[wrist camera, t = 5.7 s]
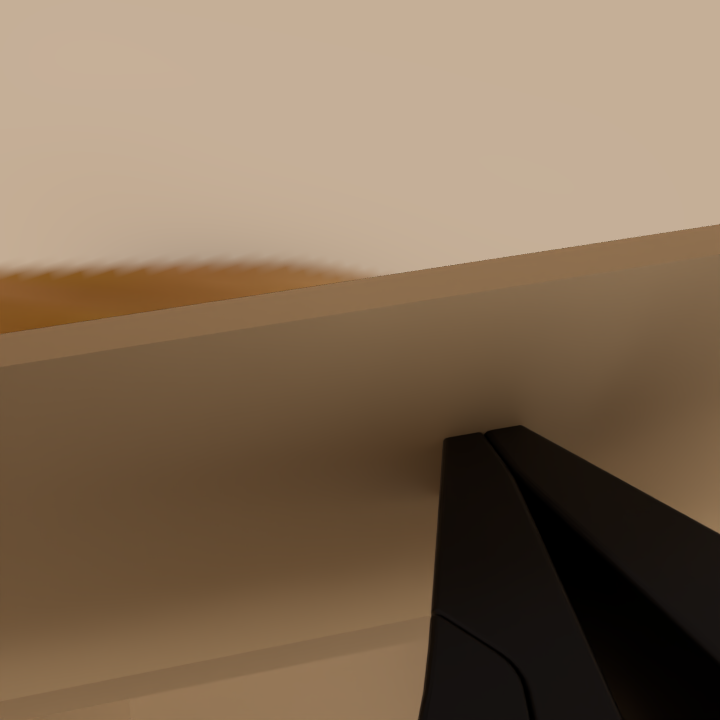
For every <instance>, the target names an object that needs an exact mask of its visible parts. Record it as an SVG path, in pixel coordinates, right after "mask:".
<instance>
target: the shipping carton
mask: <svg viewBox="0 0 720 720" xmlns="http://www.w3.org/2000/svg"><path fill="white" fill-rule="evenodd" d="M430 618H431V616H426V617H421V618H416V619H411V620H406V621H401V622H396V623H391V624H386V625H381V626H376V627H371V628H366V629H361V630H356V631H351V632H346V633H341V634H336V635H331V636H326V637H321V638H316V639H311V640H306V641H301V642H296V643H291V644H286V645H281V646H276V647H271V648H266V649H261V650H256V651H251V652H246V653H241V654H236V655H231V656H226V657H220V658H215V659H210V660H205V661H200V662H195V663H190V664H185V665H180V666H175V667H170V668H165V669H160V670H155V671H150V672H145V673H140V674H135V675H130V676H125V677H120V678H115V679H110V680H105V681H100V682H95V683H90V684H85V685H80V686H75V687H70V688H65V689H60V690H55V691H50V692H45V693H40V694H35V695H30V696H25V697H20V698H15V699H10V700H5V701H0V720H418V715H419V710H420V705H421V700H422V695H423V687H424V678H425V670H426V661H427V652H428V640H429V626H430Z"/></svg>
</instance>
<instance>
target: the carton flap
mask: <svg viewBox="0 0 720 720" xmlns="http://www.w3.org/2000/svg"><path fill="white" fill-rule="evenodd" d="M518 425H523V426H525V427H527V428H528V429H530V430H532V431H534V432H536V433H537V434H539V435H541V436H543V437H545V438H547V439H548V440H550V441H552V442H554V443H556V444H557V445H559V446H561V447H563V448H565V449H567V450H568V451H570V452H572V453H574V454H576V455H577V456H579V457H581V458H583V459H585V460H587V461H588V462H590V463H592V464H594V465H596V466H598V467H599V468H601V469H603V470H605V471H607V472H608V473H610V474H612V475H614V476H616V477H618V478H619V479H621V480H623V481H625V482H627V483H628V484H630V485H632V486H634V487H636V488H638V489H639V490H641V491H643V492H645V493H647V494H648V495H650V496H652V497H654V498H656V499H658V500H659V501H661V502H663V503H665V504H667V505H669V506H670V507H672V508H674V509H676V510H678V511H679V512H681V513H683V514H685V515H687V516H689V517H690V518H692V519H694V520H696V521H698V522H699V523H701V524H703V525H705V526H707V527H709V528H710V529H712V530H714V531H716V532H718V533H719V534H720V224H719V225H713V226H706V227H700V228H693V229H686V230H680V231H674V232H667V233H660V234H654V235H647V236H641V237H635V238H627V239H621V240H614V241H608V242H601V243H595V244H589V245H582V246H575V247H568V248H562V249H555V250H549V251H542V252H536V253H529V254H523V255H516V256H509V257H503V258H497V259H490V260H484V261H477V262H470V263H464V264H457V265H451V266H444V267H437V268H431V269H425V270H418V271H411V272H405V273H398V274H391V275H385V276H378V277H372V278H365V279H359V280H352V281H346V282H339V283H333V284H326V285H319V286H313V287H306V288H300V289H293V290H287V291H280V292H274V293H267V294H260V295H254V296H247V297H241V298H234V299H228V300H221V301H215V302H208V303H201V304H195V305H188V306H182V307H175V308H169V309H162V310H156V311H149V312H142V313H136V314H129V315H123V316H116V317H110V318H103V319H97V320H90V321H83V322H77V323H70V324H64V325H57V326H51V327H44V328H38V329H31V330H24V331H18V332H11V333H5V334H0V701H5V700H10V699H15V698H20V697H25V696H30V695H35V694H40V693H45V692H50V691H55V690H60V689H65V688H70V687H75V686H80V685H85V684H90V683H95V682H100V681H105V680H110V679H115V678H120V677H125V676H130V675H135V674H140V673H145V672H150V671H155V670H160V669H165V668H170V667H175V666H180V665H185V664H190V663H195V662H200V661H205V660H210V659H215V658H220V657H226V656H231V655H236V654H241V653H246V652H251V651H256V650H261V649H266V648H271V647H276V646H281V645H286V644H291V643H296V642H301V641H306V640H311V639H316V638H321V637H326V636H331V635H336V634H341V633H346V632H351V631H356V630H361V629H366V628H371V627H376V626H381V625H386V624H391V623H396V622H401V621H406V620H411V619H416V618H421V617H426V616H431V603H432V589H433V575H434V561H435V546H436V532H437V518H438V504H439V490H440V476H441V461H442V447H443V440H444V439H446V438H448V437H453V436H459V435H465V434H471V433H477V432H481V433H483V434H485V433H486V432H487V431H489V430H494V429H500V428H506V427H512V426H518Z"/></svg>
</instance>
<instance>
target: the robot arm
mask: <svg viewBox="0 0 720 720" xmlns="http://www.w3.org/2000/svg"><path fill="white" fill-rule="evenodd" d="M418 720H720V534H719V533H718V532H716V531H714V530H712V529H710V528H709V527H707V526H705V525H703V524H701V523H699V522H698V521H696V520H694V519H692V518H690V517H689V516H687V515H685V514H683V513H681V512H679V511H678V510H676V509H674V508H672V507H670V506H669V505H667V504H665V503H663V502H661V501H659V500H658V499H656V498H654V497H652V496H650V495H648V494H647V493H645V492H643V491H641V490H639V489H638V488H636V487H634V486H632V485H630V484H628V483H627V482H625V481H623V480H621V479H619V478H618V477H616V476H614V475H612V474H610V473H608V472H607V471H605V470H603V469H601V468H599V467H598V466H596V465H594V464H592V463H590V462H588V461H587V460H585V459H583V458H581V457H579V456H577V455H576V454H574V453H572V452H570V451H568V450H567V449H565V448H563V447H561V446H559V445H557V444H556V443H554V442H552V441H550V440H548V439H547V438H545V437H543V436H541V435H539V434H537V433H536V432H534V431H532V430H530V429H528V428H527V427H525V426H523V425H518V426H512V427H506V428H500V429H494V430H489V431H487V432H486V433H485V434H483V433H481V432H477V433H471V434H465V435H459V436H453V437H448V438H446V439H444V440H443V447H442V461H441V476H440V490H439V504H438V518H437V532H436V546H435V561H434V575H433V589H432V603H431V618H430V626H429V640H428V652H427V661H426V670H425V678H424V687H423V695H422V700H421V705H420V710H419V715H418Z"/></svg>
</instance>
